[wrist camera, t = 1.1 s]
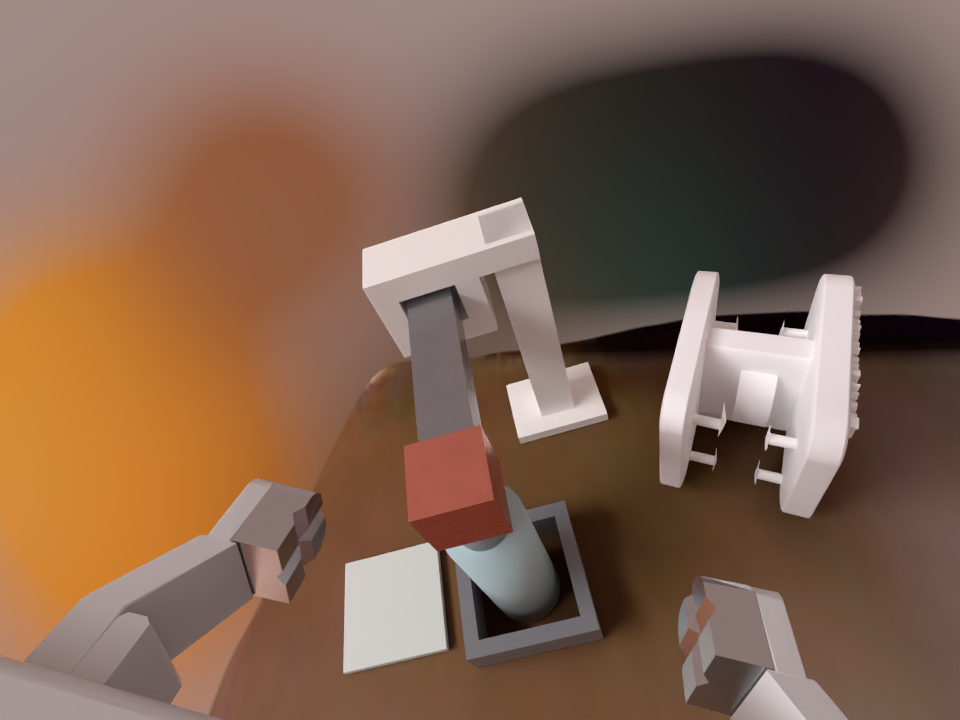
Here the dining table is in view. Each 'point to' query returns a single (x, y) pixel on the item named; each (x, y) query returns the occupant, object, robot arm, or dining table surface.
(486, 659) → the socket collar
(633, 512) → the dining table surface
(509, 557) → the pale blue bottle
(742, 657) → the robot arm
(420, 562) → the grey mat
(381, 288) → the stand
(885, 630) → the dining table surface
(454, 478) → the bolt
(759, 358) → the cable organizer
